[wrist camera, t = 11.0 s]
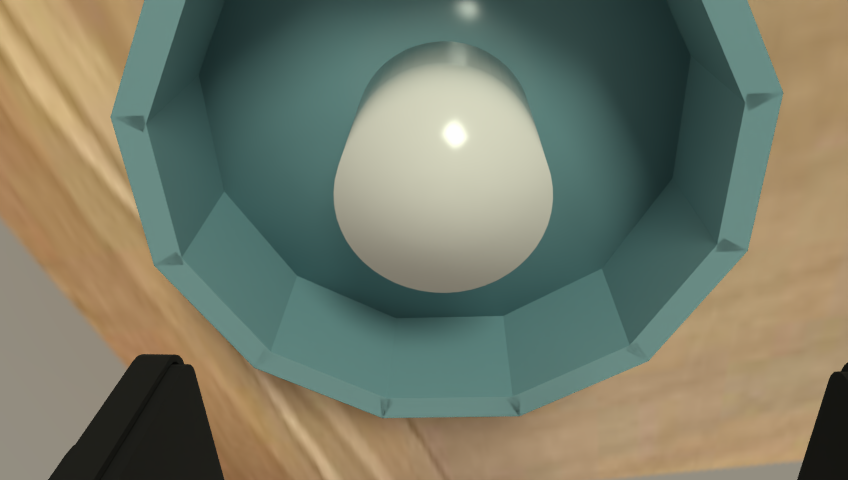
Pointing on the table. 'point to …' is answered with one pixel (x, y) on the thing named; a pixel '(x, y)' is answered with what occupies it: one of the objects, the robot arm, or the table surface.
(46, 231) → the table surface
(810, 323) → the table surface
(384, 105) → the pale stone
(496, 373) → the bowl
